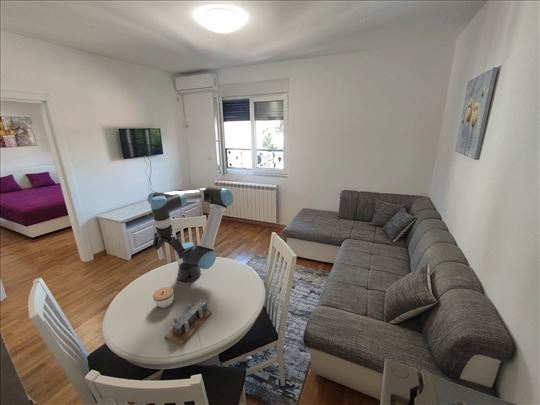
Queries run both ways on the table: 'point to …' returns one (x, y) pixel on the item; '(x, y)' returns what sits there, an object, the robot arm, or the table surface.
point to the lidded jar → (163, 297)
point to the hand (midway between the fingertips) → (171, 261)
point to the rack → (188, 330)
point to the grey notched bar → (189, 317)
